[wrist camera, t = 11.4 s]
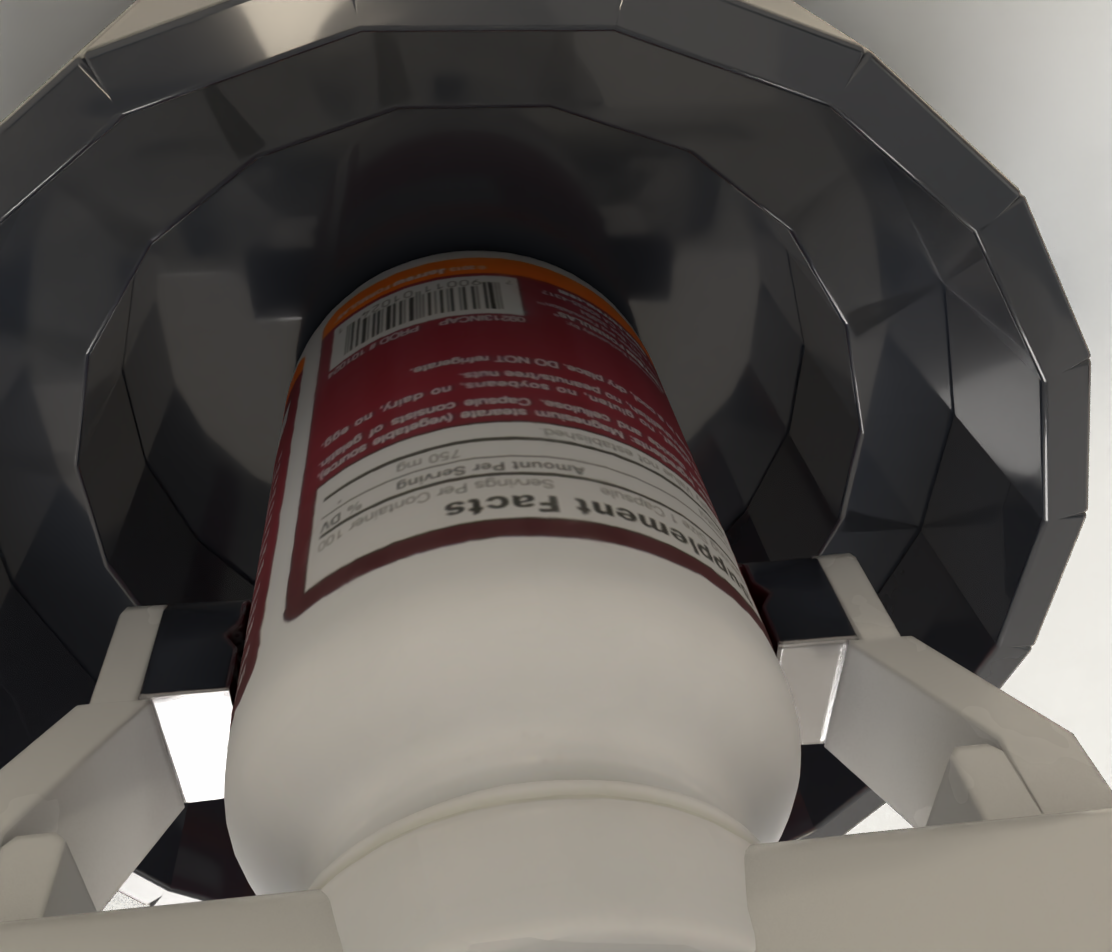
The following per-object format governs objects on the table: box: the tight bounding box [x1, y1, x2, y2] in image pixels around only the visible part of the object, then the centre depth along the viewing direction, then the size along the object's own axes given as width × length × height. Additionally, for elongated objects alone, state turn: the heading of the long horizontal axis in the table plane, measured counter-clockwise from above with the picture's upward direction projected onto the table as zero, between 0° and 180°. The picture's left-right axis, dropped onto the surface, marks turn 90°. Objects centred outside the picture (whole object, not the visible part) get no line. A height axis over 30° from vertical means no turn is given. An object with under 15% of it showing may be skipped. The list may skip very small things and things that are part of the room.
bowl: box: [0, 0, 1091, 906], centre depth 15 cm, size 15×15×6 cm
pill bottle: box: [224, 251, 801, 952], centre depth 13 cm, size 6×6×11 cm
